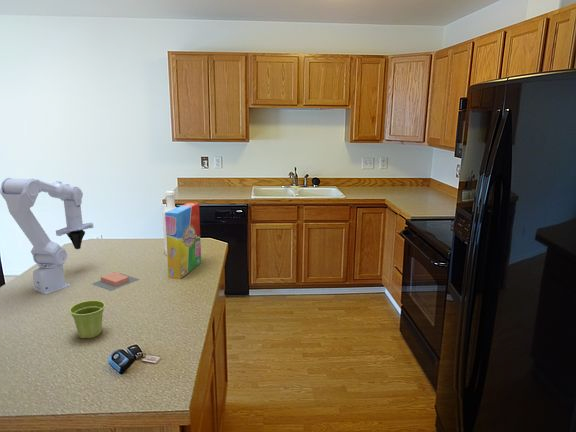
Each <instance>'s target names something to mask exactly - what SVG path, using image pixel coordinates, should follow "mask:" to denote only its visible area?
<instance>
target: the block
mask: <svg viewBox="0 0 576 432" xmlns="http://www.w3.org/2000/svg"><path fill="white" fill-rule="evenodd" d="M121 274H122V273H121ZM121 274H120V273H118V272H111V273H108V274H105V275H103V276H100V280H101V282H103V283H106V284H109V285H112V286H115V287H117V286H120V285H122V284H125V283H127V282H129V277H128V276H129V275H128V276H124V275H125V274H124V275H121Z"/></svg>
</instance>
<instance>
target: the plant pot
mask: <svg viewBox="0 0 576 432" xmlns="http://www.w3.org/2000/svg"><path fill="white" fill-rule="evenodd" d="M105 308H106V303H105V302H104V301H101V300H97V299H96V300H95V299H92V300H84V301H80V302H78V303H75V304H74V305H72V306H71V307H70V308H69V309H68V311H69V313H70V314H71V316H72V318H73V320H74V324H75V328H76V331H77V334H78V335H77V336H78V337H79V338H81V339H92V338H96V337H98V336H99V335H100V334H101V333H102V330H103V329H102V328H103V326H102V325H103V314H104V313H103V312H104V309H105Z"/></svg>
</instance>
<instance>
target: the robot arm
mask: <svg viewBox="0 0 576 432" xmlns="http://www.w3.org/2000/svg"><path fill="white" fill-rule="evenodd" d="M41 192H44V193H47V194H48V195H49V197H51V198H55V199H60V200H61V201H62V202H63V207H64V216H65V223H66V227H63V228H60V229H56V230H55V235H56V236H58V237H61V236H62V235H67V237H68V239H70V241H71V243H72V245H73V247H74V249H75V250H80V249H81V247H82V242H83V238H84V236H85V234H86V231H85V230H87V229H94V223H93V222H88V223H87V222H86V223H83V217H82V207H81V205H82V203H83V201H82V199H83V195H84V193H83V191H82V189H81V188H80V187H78V186H71V185H70V184H67V183H65V184H63V182H62V181H54V182H52V183H49V182H46V181H44V180H41V179H40V180H39V179H35V178H27V179H26V178H11V177H6V178H5V179H3V180H2V182H1V184H0V195H1V196H2V198H3V199H4V200H5V204H6V205H7V209H8V212H9V214H10V215H11V217H12V218H13V219H14V221H15V222H16V224H17V225H18V226H19V228H20V229H21V231H22V233H23V234H24V235H25V236H26V238H27V239H28V241H29V242H30V243H31V245H32V246H33V247H32V248H31V250H30V253H31V255H32V258H33V262H34V263H36V264H37V266H38V268H36V269H34V270H33V272H32V278H33V285H34V289H33V290H34V291H36V292H39V293H41V294H42V295H48V294H51V293H54V292H56V291H59V290H62V289H65V288H68V287H70V286H71V284H70V283H67V282H66V281H65V280H66V279H65V274H64V273H65V272H64V265H65V262H66V260H67V259H68V252H67V250H66V249H65V248H63V247H62V246H61V245H60V244H59V243H56V242H55V241H52V240H51V239H50V237H49V236H48V234H47V233H46V231H45V230H44V228H43V227H42V225H41V223H40V222H39V221H38V218H37V217H36V216H35V214H34V213H33V211H32V210H31V208H33V206H34V205H35V203H36V200H37V198H38V196H39V193H41Z"/></svg>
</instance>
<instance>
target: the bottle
mask: <svg viewBox="0 0 576 432" xmlns="http://www.w3.org/2000/svg"><path fill="white" fill-rule="evenodd" d="M175 195H176V194H175V191H174V190H166V191H165V197H166V198H165V199H166V201H165V202H166V206H165V208H164V209H163V211H162V224H163V242H164V254H165V256H167V257H168V255H167V237H166V220H165V212H168V211H170V210H173V209H175V208H177V207H178V206H176V204H175V203H176V201H175Z"/></svg>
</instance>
